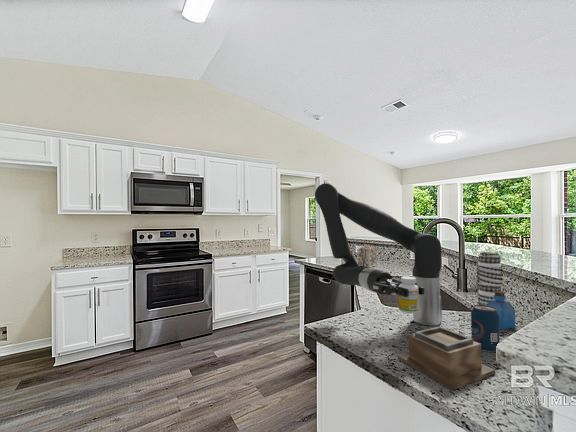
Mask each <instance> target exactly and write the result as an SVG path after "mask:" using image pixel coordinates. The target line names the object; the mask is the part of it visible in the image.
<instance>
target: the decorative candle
mask: <svg viewBox="0 0 576 432" xmlns="http://www.w3.org/2000/svg"><path fill="white" fill-rule="evenodd" d="M477 256H478V261H477V265H478V266H477V267H476V270H477V271H476V274H477V277H476V278H477V281H476V282H477V284H479V285H478V293H477V296H478V297H477V300H478V301H477V305H486V306H487V304H488V303H489V302H490V301H491V300H495V298H494V294H495V292H494V291H501V292H502V286H503V282H501V281H504V278H503V276H504V275H503V273H501V272H504V269H503V268H504V266H503V265H502V263H501V262H502V261H501V257H502V255H500V254H499V253H498V252H497V251H493V250H492V251H487V250H483V251H480V252H479V254H477Z"/></svg>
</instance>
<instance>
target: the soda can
mask: <svg viewBox="0 0 576 432" xmlns="http://www.w3.org/2000/svg"><path fill="white" fill-rule="evenodd" d="M470 323H471V326H470V327H471V330H470V331H471V332H470V333H471V336H470V338H472V339H473V341H475V342H478V343H480V344H481V352H482V351H483V352H488V353H494V352H495V351H496V346H497V344H498V343H499V342H500V328H499V315H498V313H497V311H496V308H494V307H491V306H486V305H479V304H474V305H472V309H471V310H470ZM500 343H501V342H500ZM496 352H497V351H496Z"/></svg>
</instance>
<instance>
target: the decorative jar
mask: <svg viewBox="0 0 576 432" xmlns="http://www.w3.org/2000/svg"><path fill="white" fill-rule="evenodd" d="M377 252H378V251H377V249H376V248H375V247H374V246H371V245H370V244H364V246H361V247H359V248H358V250H357V264H358V266H359V267H360V266H364V267H365V268H368V267H370V268H373V267H372V266H376V267H377V266H378V255H377Z"/></svg>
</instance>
